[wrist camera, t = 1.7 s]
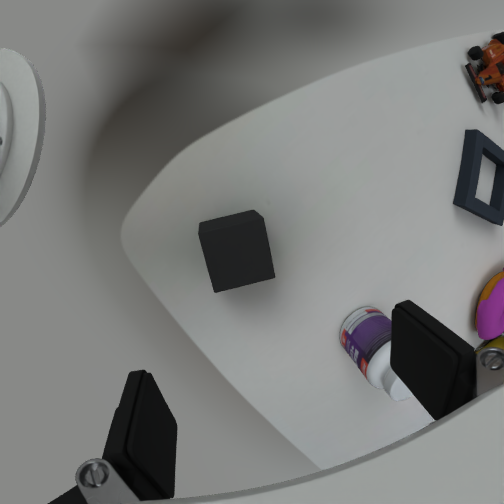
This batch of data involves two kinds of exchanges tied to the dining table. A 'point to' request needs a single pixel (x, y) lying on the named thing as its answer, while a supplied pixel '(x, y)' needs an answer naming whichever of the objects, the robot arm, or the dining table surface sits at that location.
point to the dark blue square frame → (474, 147)
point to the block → (236, 250)
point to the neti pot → (495, 343)
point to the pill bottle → (373, 350)
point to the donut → (491, 309)
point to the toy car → (489, 68)
